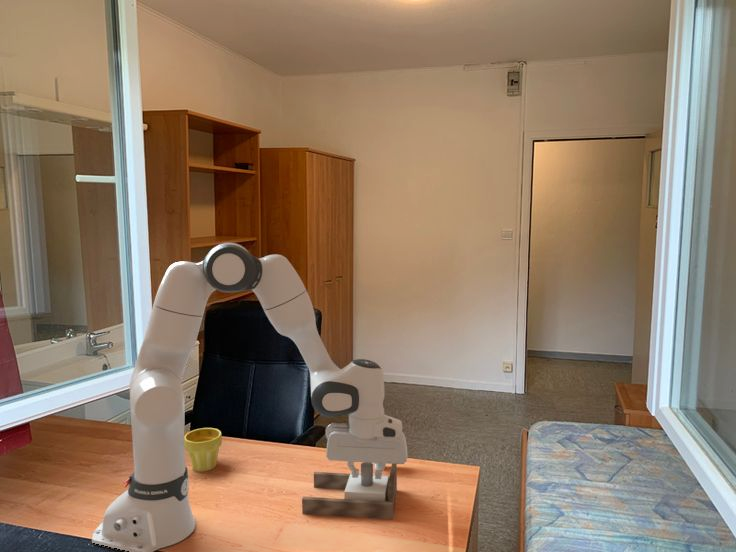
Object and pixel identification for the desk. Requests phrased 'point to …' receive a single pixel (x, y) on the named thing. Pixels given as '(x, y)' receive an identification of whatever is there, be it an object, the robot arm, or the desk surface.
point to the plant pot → (203, 447)
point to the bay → (349, 505)
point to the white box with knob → (367, 485)
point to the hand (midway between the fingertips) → (366, 477)
